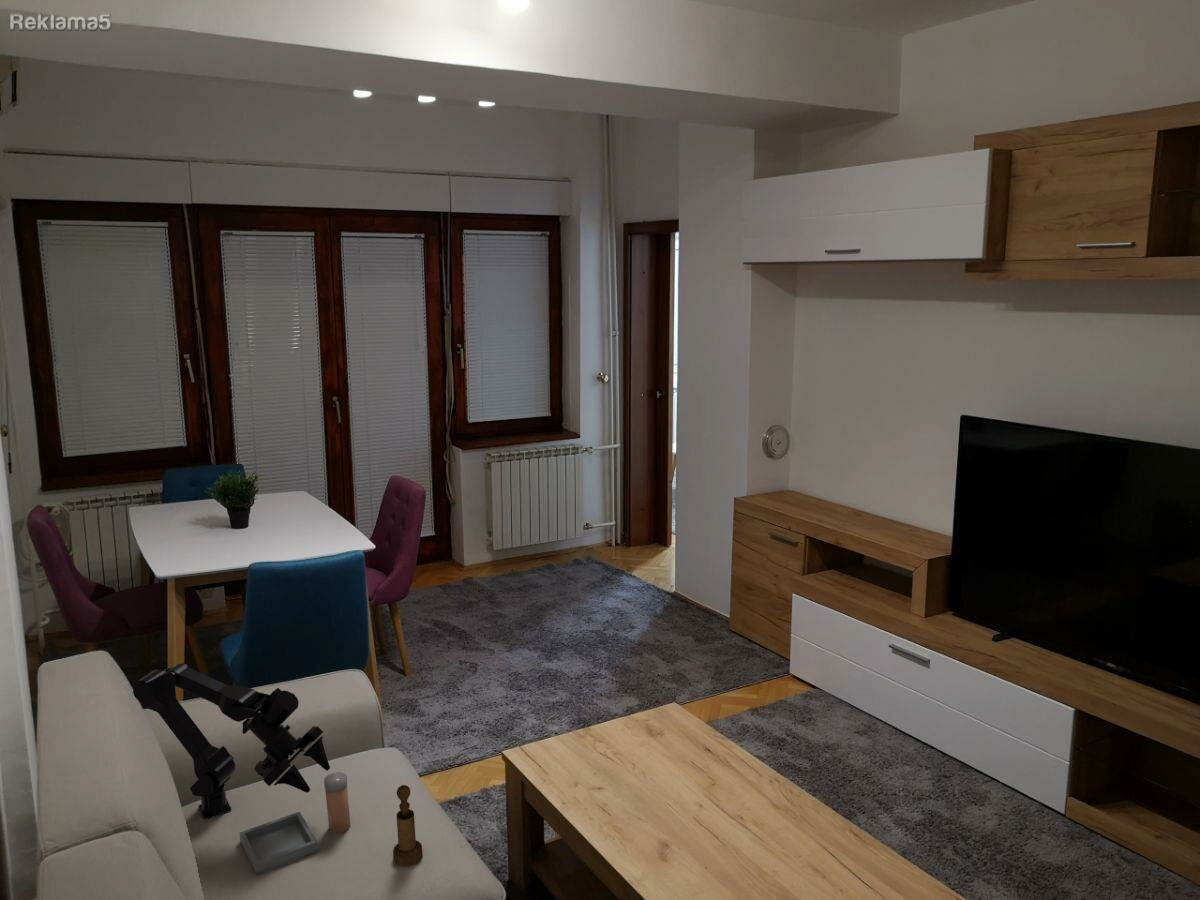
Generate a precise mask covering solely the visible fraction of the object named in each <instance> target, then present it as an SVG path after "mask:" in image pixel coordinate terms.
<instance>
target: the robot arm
mask: <svg viewBox="0 0 1200 900" xmlns="http://www.w3.org/2000/svg"><path fill="white" fill-rule="evenodd" d="M176 687H177V688H179V689H182V690H184V691H186V692H188V693H190V694H192V695H195V696H197V697H198V698H201V699H203V700H206V701H208V702H210V703H213V704H214V705H216V706H217V707H218V708H219V711H220V712H221V713H222V714H223V715H225V716H226V717H228V718H229V719H230V720H232V721H234V722H237V723H239V722H242V723H241V724H242V730H241V731H242V734H243V735H245V734H247V733H248V732H249V731H250V733H252V734H253V735H254V736H255V737H256V738H258V740H260V742H261V743H263V745H264V747H263V751H264V753H265V755H266V757H265V758H264V759H263V760H260V761H258V763H256V764H255V766H254V771H255V773H257V774H258V776H261V777H262V779H263V782H264V783H265V784H266V785H267V786H268V787H270V786H272V784H273V786H277V785H280V784H281V785H288V786H290V787H293V788H295V789H298V790H300V791H302V792H304V793H307V794H308V793H309V792H310V791H311V788H310V786H309V784H308V782H307V781H306V780H305V778H304V777H303V776H302V774H301V772H300V771H299V769H298V768H297V766H296V765H295V764H293V765H291V763H292V762H293V761H294V760H295V758H297V756H299V755H300V754H301V753H302V752H303V754H302V756H304V757H310V758H311V759H312V760H314V761H315V762H316V763H317V764H318V765H319V766H320V767H321V768H322V769H323V770H325V771H327V772H328V771H329V770H330V769H331V766H330V762H329V761H328V757H327V754H326V751H325V745H324V743H323V738H324V736H323V735H322V734H323V733H324V731H323V730H322V729H321V728H320V727H319V726H312V727H311V728H310V729H309V730H308V731H307V732H306V733H305V734H304V735H302V737H300V736H299V737H298V738H296V737H295V736H294V735H293V734H292V733H291V732H290V731H289V730H290V729H291V726H290V725H288V724H287V725H286V726H284V725H283V723H284V722H286V720H288V719H289V718H290V716H291V715H293V714H294V712H295V711H297V709H298V708H299V705H300V704H299V703H300V702H299V699H298V697H297V695H295V693H293V692H290V691H288V690H281V689H280V687H277V688H275V689H274V690H273V691H271V693H270V694H268V693H264V692H261V691H257V690H256V689H254V688H251V687H248V686H244V685H229V684H226V683H223V682H222V681H219V680H217V679H215V678H213V677H210V676H208V675H207V674H204V673H201V672H199V671H198V670H195V669H193V668H190V667H189V666H188V664H186V663H184V662H183V663H177V664H176V665H175V666H173V665H172V666H171V667H168V668H165V669H153V670H152V671H150V672H149V673H147V674H145V676H143V677H142V678H140V679H139V680H137V681H136V682H134V684H133V689H132V694H133V696H134V697H135V699H136V700H137V701H138V702H139V703H141V705H142V706H143V707H144V708H145V709H148V710H151V711H153V712H156V713H158V715H159V717H161V719H162V720H163V721H164V722H165V724H166V726H167V727H168V728H169V730H171V732H172V733H173V734H174V736H175V737H176V738H177V740H178V741H179V742H180V744H181V746H182V747H183V748H184V749H185V750H186V752H187V753H188V754H189V755H190V757H191V758H192V760H193V761H192V762H193V771H194V774H195V776H196V779H197V780H196V781H195V782H194V783H193V784H192V785H191V786H190V787H189V789H190V792H191V794H192V796H194V797H195V796H196V797H200V803H201V804H198V806H197V807H198V809H199V812H200V814H201V817H202V819H204V820H208V819H210V817H211V818H213V817H212V816H214V817H216V815H217V816H219V814H220V815H223V814H225V812H226V813H228V811H229V812H231V811H232V807H231V805H230V802H229V801H228V798H227V793H226V783H227V782H228V781H229V780H231V778H232V775H233V774H234V773H235V771H236V770H235V769H236V763H235V761H234V759H235V757H234V756H233V755H231V753H229V751H228V749H227V748H226V747H225V746H224V745H222V746H221V747H216V746H214V745H212V744H211V743H210V742H209V740H208V739H207V737H206V736H205V734H203V732H202V731H201V729H200V728H199V727H198V725H197V724H196V723H195V722H194V720H193V719H192V718H191V716H190V715H189V714H188V712H187V711H186V709H184V707H183V706H182V704H181V703H180V701H179V700H178V698H177V694H176ZM230 810H231V811H230ZM222 813H223V814H222ZM207 818H208V819H207Z"/></svg>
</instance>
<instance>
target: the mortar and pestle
mask: <svg viewBox="0 0 1200 900" xmlns="http://www.w3.org/2000/svg"><path fill="white" fill-rule="evenodd" d="M396 796H397V798H398V800H400V804H399V805H398V806H399V811H397V812H396V828H397V829H396V831H397V842H398V843H397V844H395V845H394V847H393V849H392V856H393V862H394V864H395V865H397V866H399V867H402V866H403V867H404V868H405V867H406V868H408V867H412V866H415V865H416V864H418V863H419V862H420V861H421V860H422V859H423V856H424V855H423V845H422V844H421V842H420V841H419V840H417V839H416V822H415V812H414V811H413V809H410V806H411V804H410V802H409V801H408V800H409V798H410V796H411V789H410V787H409V786H408V785H406V784H402V785H400V786H398V788H397V790H396ZM407 866H408V867H407ZM403 867H402V868H403Z"/></svg>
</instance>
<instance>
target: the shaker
mask: <svg viewBox="0 0 1200 900" xmlns="http://www.w3.org/2000/svg"><path fill="white" fill-rule="evenodd" d="M323 784H324V791H325V801H326V813H327V823H328V831H329V832H330V831H331V832H332V834H336V835H337V834H342V833H345V832H347V831H348V830H350V828H351V814H350V803H349V791H348V790H349V789H348V777H347V774H346V773H345V772H338V771H337V772H333V773H329V774H327V775H326V776H325V777H324V779H323ZM331 832H330V833H331Z"/></svg>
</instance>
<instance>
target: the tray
mask: <svg viewBox="0 0 1200 900" xmlns="http://www.w3.org/2000/svg"><path fill="white" fill-rule="evenodd" d="M238 833H239V840H240V844H241V846H242V848H243V851H244V850H245V851H244V853H245V855H246V857H247V859H248V861H249V863H250V866H251V867H252V870H253V872H254V874H255V875H259V874H262V873H265V872H268V871H270V870H273V869H275V868H279V867H281V866H283V865H286V864H288V863H291V862H294V861H296V860H298V859H299V860H300V859H301V858H304V857H307V856H310V855H312V854H314V853H317V852H319V842H318V839H317V838H316V836H315V835H314V833H313V831H312V829H311V828H310V826H309V825H308V823H307V822H306V820H305V819H304V816H303V815H302V812H300V811H297V812H294V813H291V814H289V815H286V816H282V817H279V818H277V819H275V820H272V821H268V822H266V823H263V824H259V825H258V826H254V827H251V828H248V829H246V830H242V831H240V832H238Z"/></svg>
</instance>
